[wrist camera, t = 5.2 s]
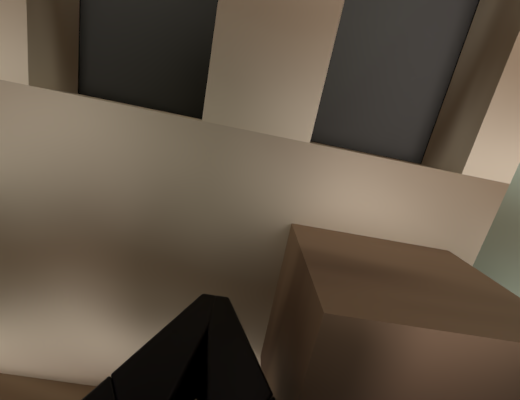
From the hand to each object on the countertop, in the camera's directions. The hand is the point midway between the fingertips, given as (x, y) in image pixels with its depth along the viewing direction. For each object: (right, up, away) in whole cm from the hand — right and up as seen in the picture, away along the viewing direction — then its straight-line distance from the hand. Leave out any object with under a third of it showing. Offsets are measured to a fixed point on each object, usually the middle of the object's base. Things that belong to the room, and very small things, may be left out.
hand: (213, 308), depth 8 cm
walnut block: (+4, 0, +1) cm, 4 cm away
